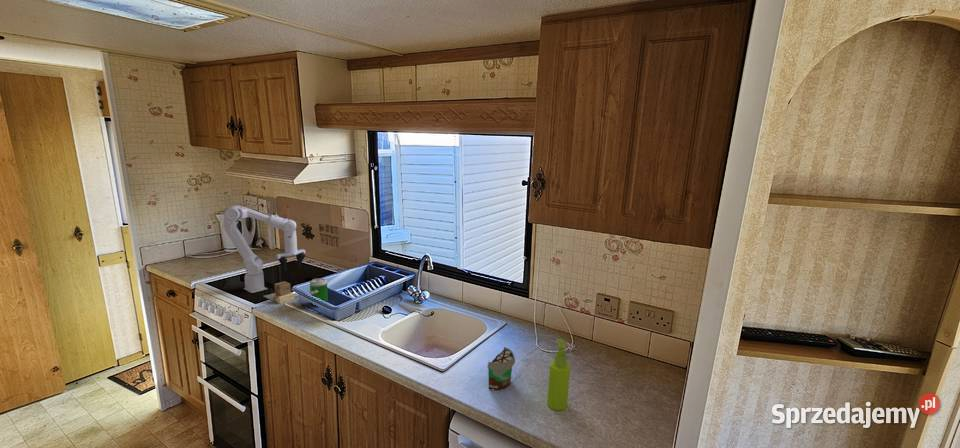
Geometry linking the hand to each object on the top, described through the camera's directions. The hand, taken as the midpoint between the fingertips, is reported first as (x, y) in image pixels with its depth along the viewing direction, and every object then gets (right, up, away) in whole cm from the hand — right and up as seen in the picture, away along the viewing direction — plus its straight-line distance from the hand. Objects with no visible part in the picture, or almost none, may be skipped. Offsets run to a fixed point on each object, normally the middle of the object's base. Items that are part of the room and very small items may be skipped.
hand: (292, 269), depth 208 cm
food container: (+105, -29, -77) cm, 133 cm away
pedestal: (+3, -13, -16) cm, 21 cm away
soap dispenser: (+121, -32, -86) cm, 151 cm away
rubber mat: (+1, -13, -12) cm, 18 cm away
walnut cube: (+3, -10, -16) cm, 19 cm away
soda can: (+21, -15, -18) cm, 32 cm away
